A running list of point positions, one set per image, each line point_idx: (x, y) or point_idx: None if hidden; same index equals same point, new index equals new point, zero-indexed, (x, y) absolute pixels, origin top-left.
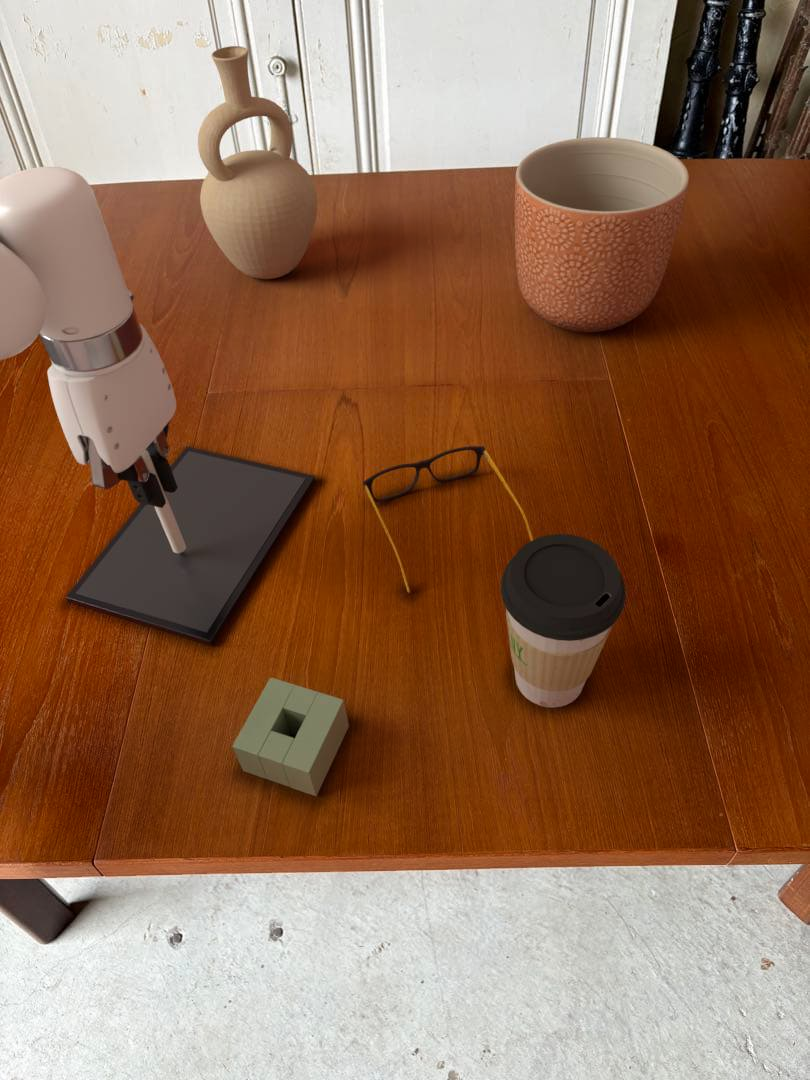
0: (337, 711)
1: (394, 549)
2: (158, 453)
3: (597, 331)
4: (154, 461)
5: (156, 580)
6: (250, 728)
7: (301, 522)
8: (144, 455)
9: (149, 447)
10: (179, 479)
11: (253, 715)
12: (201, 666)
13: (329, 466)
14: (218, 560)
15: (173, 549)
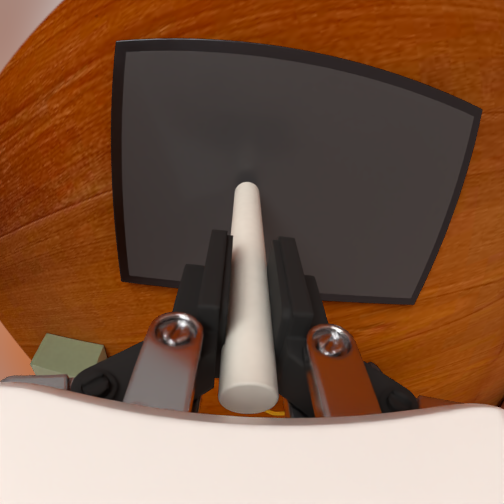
0: None
1: (282, 414)
2: (286, 401)
3: (501, 405)
4: (276, 365)
5: (184, 169)
6: (47, 372)
7: (342, 305)
8: (246, 408)
9: (305, 389)
10: (418, 117)
11: (56, 373)
12: (98, 272)
13: (431, 302)
14: None
15: (235, 192)
